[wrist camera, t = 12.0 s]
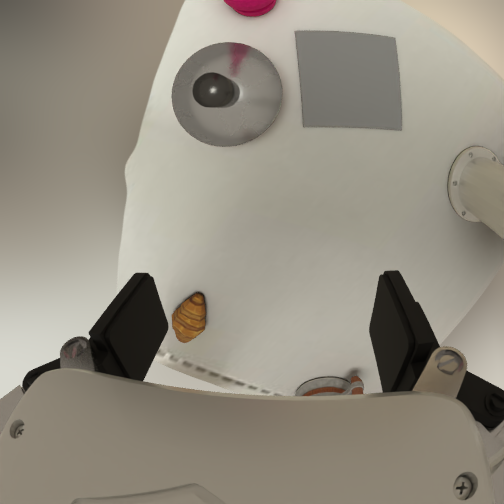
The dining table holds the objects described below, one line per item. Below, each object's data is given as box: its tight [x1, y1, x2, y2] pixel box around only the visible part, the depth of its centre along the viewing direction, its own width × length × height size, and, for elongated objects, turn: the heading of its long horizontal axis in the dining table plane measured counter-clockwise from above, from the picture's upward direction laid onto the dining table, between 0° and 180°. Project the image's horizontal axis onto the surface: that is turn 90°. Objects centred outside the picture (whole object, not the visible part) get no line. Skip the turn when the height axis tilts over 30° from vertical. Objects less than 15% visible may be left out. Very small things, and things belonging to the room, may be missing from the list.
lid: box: [172, 42, 282, 147], centre depth 26 cm, size 13×13×7 cm
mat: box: [295, 31, 402, 130], centre depth 30 cm, size 14×14×1 cm
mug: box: [296, 376, 364, 396], centre depth 53 cm, size 14×19×15 cm
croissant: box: [172, 293, 206, 343], centre depth 51 cm, size 14×7×5 cm, turn 158°
